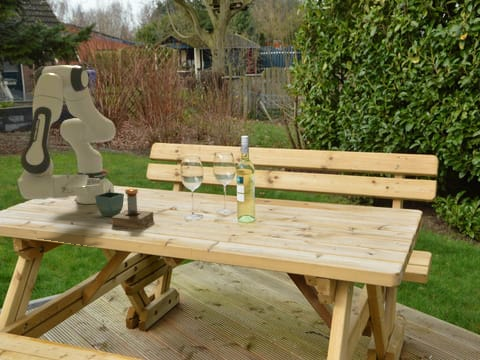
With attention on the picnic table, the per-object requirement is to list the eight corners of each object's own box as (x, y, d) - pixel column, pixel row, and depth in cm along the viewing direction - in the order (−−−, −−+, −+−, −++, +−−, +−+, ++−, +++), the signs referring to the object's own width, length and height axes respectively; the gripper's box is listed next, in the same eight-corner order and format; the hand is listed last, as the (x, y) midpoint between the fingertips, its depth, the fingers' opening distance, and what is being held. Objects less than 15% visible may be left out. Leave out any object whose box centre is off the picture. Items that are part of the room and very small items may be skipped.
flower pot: (95, 216, 227) (94, 195, 226) (109, 211, 235) (108, 191, 233) (111, 219, 223) (110, 197, 222) (125, 214, 231) (124, 193, 229)
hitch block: (127, 219, 222) (126, 209, 222) (153, 221, 219) (153, 211, 218) (112, 227, 211) (111, 217, 210) (139, 229, 208) (139, 219, 207)
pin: (130, 220, 218) (129, 188, 215) (141, 221, 217) (139, 189, 214) (124, 223, 213) (123, 190, 211) (135, 224, 212) (134, 191, 210)
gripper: (59, 184, 196) (99, 182, 199) (64, 172, 215) (100, 170, 218) (61, 201, 198) (100, 198, 201) (65, 187, 217) (101, 185, 220)
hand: (100, 183), depth 210 cm, fingers open, 8 cm apart
